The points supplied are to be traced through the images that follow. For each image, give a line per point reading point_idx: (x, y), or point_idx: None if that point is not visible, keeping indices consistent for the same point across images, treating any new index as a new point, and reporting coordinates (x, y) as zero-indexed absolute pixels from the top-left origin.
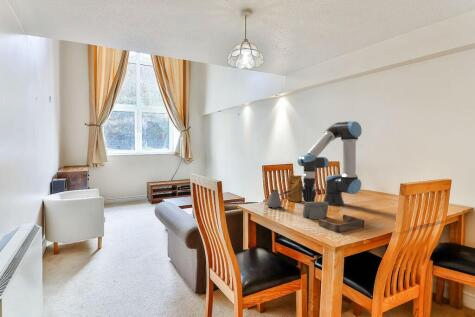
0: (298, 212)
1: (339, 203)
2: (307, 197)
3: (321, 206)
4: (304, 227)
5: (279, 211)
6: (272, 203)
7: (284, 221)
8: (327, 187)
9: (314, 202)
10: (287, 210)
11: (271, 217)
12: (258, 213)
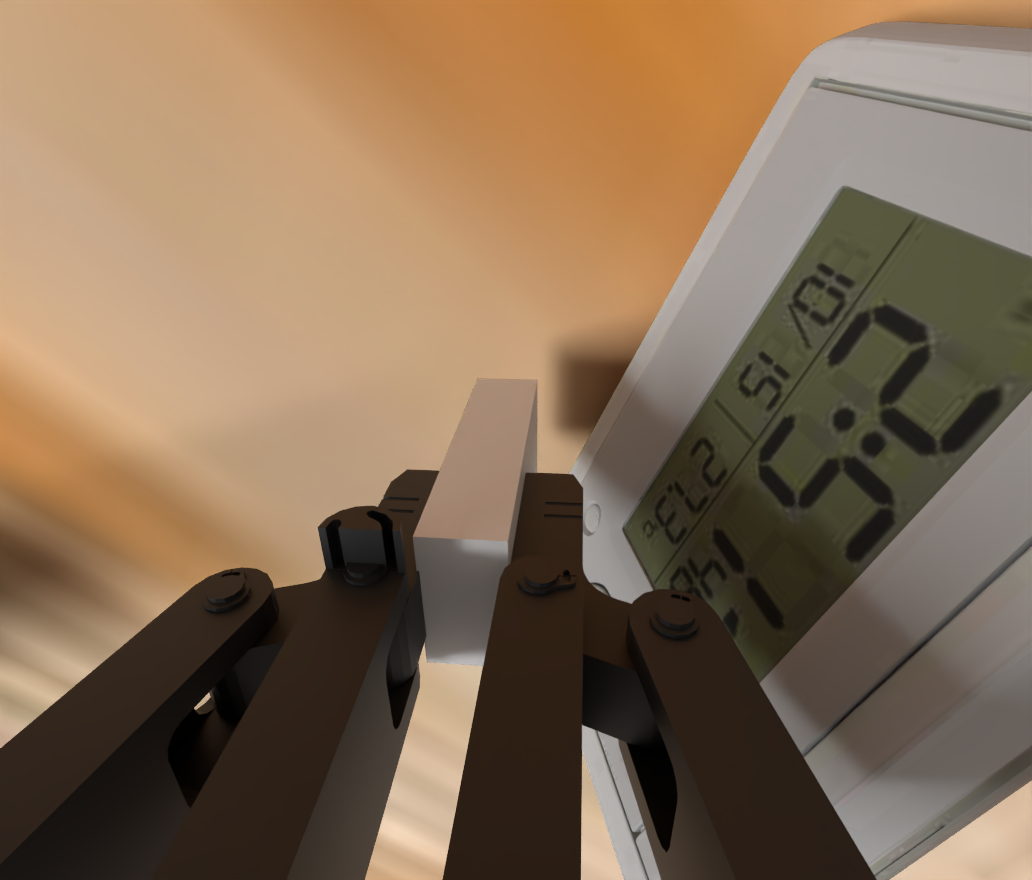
0: (240, 428)
1: None
2: (357, 847)
3: (960, 318)
4: (965, 859)
5: (99, 653)
6: None
7: (604, 867)
8: None
9: (953, 834)
10: (46, 510)
11: (377, 871)
12: None
